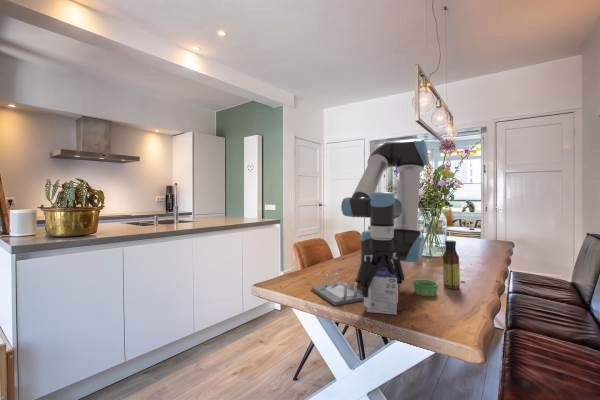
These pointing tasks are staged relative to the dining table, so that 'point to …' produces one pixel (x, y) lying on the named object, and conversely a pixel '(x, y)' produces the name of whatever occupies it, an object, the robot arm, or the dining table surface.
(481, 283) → the dining table surface
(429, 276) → the dining table surface
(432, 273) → the dining table surface
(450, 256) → the sauce bottle
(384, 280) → the ink cartridge box
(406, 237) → the robot arm
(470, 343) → the dining table surface
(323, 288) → the pin tray
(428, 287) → the ramekin
